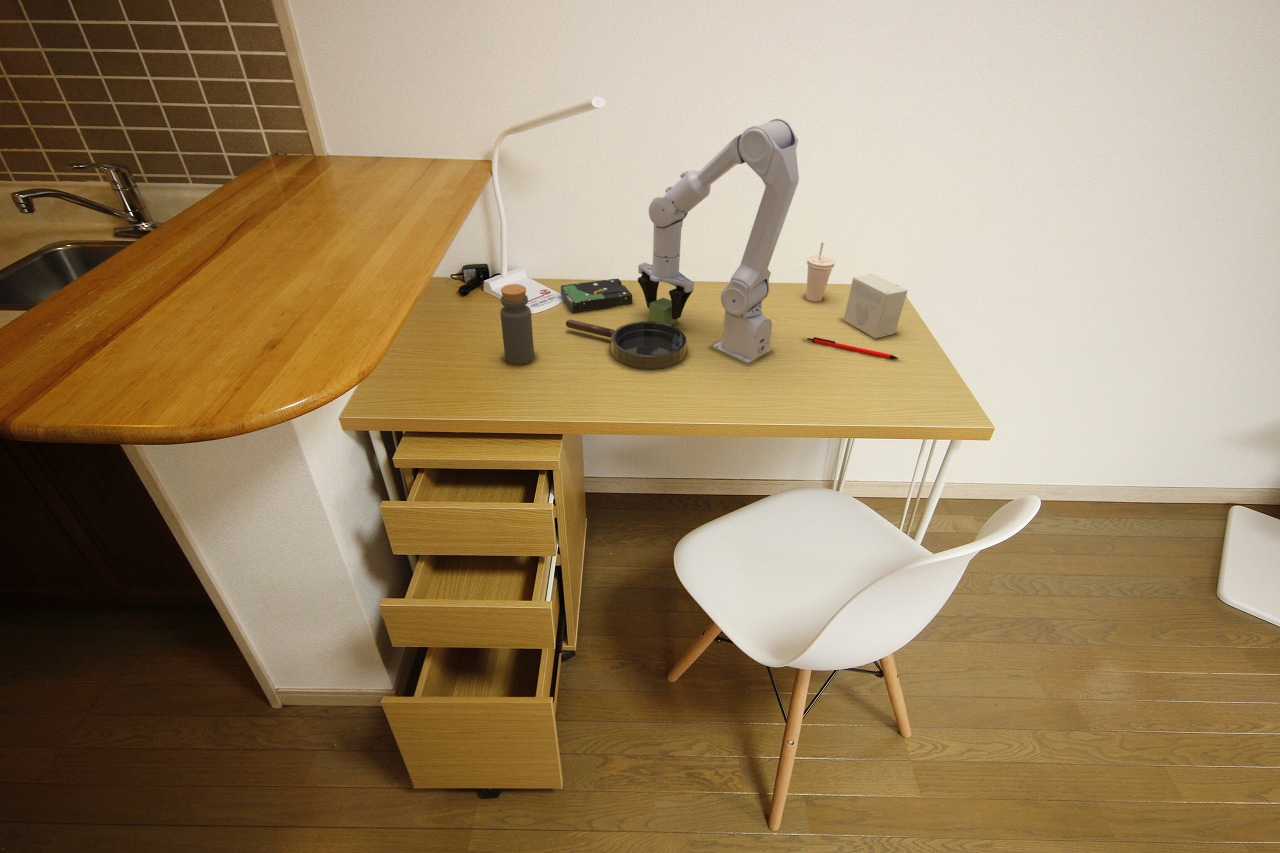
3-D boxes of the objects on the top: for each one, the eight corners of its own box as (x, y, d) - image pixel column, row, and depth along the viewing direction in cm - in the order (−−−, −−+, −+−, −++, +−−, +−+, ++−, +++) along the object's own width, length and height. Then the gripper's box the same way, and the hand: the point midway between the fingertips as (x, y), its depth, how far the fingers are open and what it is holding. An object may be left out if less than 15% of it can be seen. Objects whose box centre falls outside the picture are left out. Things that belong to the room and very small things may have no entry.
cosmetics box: (896, 333, 146) (909, 289, 140) (875, 339, 143) (887, 294, 137) (863, 314, 153) (873, 272, 147) (842, 320, 151) (851, 276, 145)
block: (677, 323, 148) (678, 303, 145) (663, 329, 145) (664, 309, 142) (662, 316, 150) (663, 297, 147) (648, 322, 147) (649, 303, 145)
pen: (807, 339, 143) (808, 334, 142) (898, 359, 136) (899, 354, 136) (806, 341, 142) (807, 336, 141) (897, 361, 136) (899, 356, 135)
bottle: (538, 353, 135) (533, 284, 126) (527, 367, 130) (521, 297, 122) (512, 349, 136) (505, 281, 127) (500, 362, 131) (492, 292, 123)
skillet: (700, 352, 137) (701, 339, 135) (649, 379, 128) (649, 364, 126) (647, 327, 145) (647, 314, 144) (596, 350, 136) (595, 337, 134)
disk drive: (617, 288, 163) (560, 295, 158) (618, 277, 161) (559, 284, 156) (632, 305, 155) (572, 313, 150) (633, 294, 153) (572, 302, 149)
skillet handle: (617, 336, 139) (617, 328, 138) (613, 340, 138) (613, 332, 137) (568, 324, 143) (568, 317, 142) (564, 328, 141) (563, 320, 140)
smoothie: (795, 294, 162) (805, 238, 154) (818, 291, 164) (829, 236, 155) (808, 305, 157) (819, 248, 149) (832, 302, 159) (844, 245, 151)
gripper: (628, 248, 140) (628, 307, 148) (679, 267, 132) (675, 328, 139) (651, 240, 144) (649, 298, 152) (702, 259, 136) (697, 318, 144)
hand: (663, 312), depth 146 cm, fingers open, 7 cm apart
